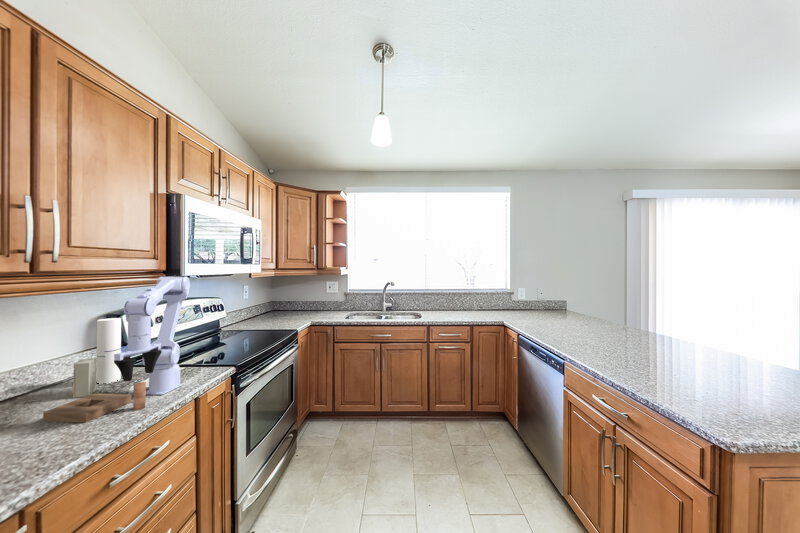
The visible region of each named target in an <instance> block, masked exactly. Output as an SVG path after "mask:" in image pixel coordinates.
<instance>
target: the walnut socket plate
mask: <svg viewBox="0 0 800 533" xmlns="http://www.w3.org/2000/svg"><path fill="white" fill-rule="evenodd" d="M129 403H132V395H131V394H117V393H92V394H91V395H88V396H85V397H79V398H78V399H75V400H73V401H70V402H68V403H65V404H62V405H59V406H56V407H54V408H52V409H49V410H47V411H43V412H42V414H43V415H42V418H43V419H42V421H43V422H61V423H62V422H63V423H64V422H66V423H88V422H91V421H93V420H96V419H97V418H99V417H101V416H104V415H105V414H108V413H111V412H113V411H115V410H117V409H119V408H121V407H123V406H125V405H127V404H129Z"/></svg>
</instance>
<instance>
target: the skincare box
mask: <svg viewBox="0 0 800 533" xmlns="http://www.w3.org/2000/svg"><path fill="white" fill-rule="evenodd" d="M96 376H97V357H95V358H92V357H91V358H84V359H83V358H82V359H79V360H78V361H76V362H75V363H74V364H73V379H72V381H73V382H72V383H73V384H72V388H73V389H72V398H73V399H75V398H83V397H85V396H88V395H91V394H94V392H95V391H96V390H97V383H96Z"/></svg>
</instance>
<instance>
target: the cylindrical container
mask: <svg viewBox="0 0 800 533" xmlns="http://www.w3.org/2000/svg"><path fill="white" fill-rule="evenodd" d="M120 352H122V318H121V317H111V318H100V319H97V320H96V358H97V363H96V382H97V383H99V384H98V385H104V384H103V383H106V384H110V383H111V382H112V383H115V382H118V381H120V380H121V379H122V374H121V372H120V370H119V368H118V367H117V365H116V364H115V363H114V354H117V353H120ZM117 380H118V381H117ZM97 383H96V384H97ZM112 383H111V384H112Z"/></svg>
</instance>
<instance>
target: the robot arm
mask: <svg viewBox="0 0 800 533" xmlns="http://www.w3.org/2000/svg"><path fill="white" fill-rule="evenodd" d="M190 289H191V282H190V278H189V277H188V276H160V277H158V278H157V280H156V285H155V286H154V287H148V288H146V289H145V290H144V291H143V292H142V293H140V294H139V295H138V296H137V297H135V298H130V299H128V300H126V301H125V304H124V306H123V314H124V316H125V321H126V322H127V348H125V350H121V352H120V353H117V354H114V363H115V364H116V365H117V367H118V368H119V370H120V372H121V378H122V380H123V382H130V381H131V382H132V379H133V373H134V372H133V371H134V368H135V364H136V361H137V359H136V358H132V357H135V356H137V355H138V356H139V355H142V364H143V367H144V372H145V374H148V390H146V395H151V396H153V395H155V396H157V395H158V396H160V395H161V396H163V395H165V394H167V393H170V392H171V391H173V390H176V389H177V388H180V387H181V386H183V383H181V368H180V365H179V364H178V362H179V360H180V351H181V350H180V349H181V347H180V345H179V343H177V342H175V340H174V338H175V334H176V329H177V327H178V326H177V325H178V321H179V317H180V313H181V310H182V305H183V301H184V300H187V299H188V296H189V293H190ZM162 300H164V301H165V302H167V303H166V306H165V309H164V312H163V317H162V320H161V325H160V328H159V330H158V335H157V339H156V340H155V341H153V342H152V341H151V339H152V338H151V336H152V335H151V331H152V330H151V329H152V328H151V327H152V325H151V324H152V315H154V313H155V310H156V308H157V305H158V304H159V303H160V302H161V301H162ZM151 342H152V343H151Z"/></svg>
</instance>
